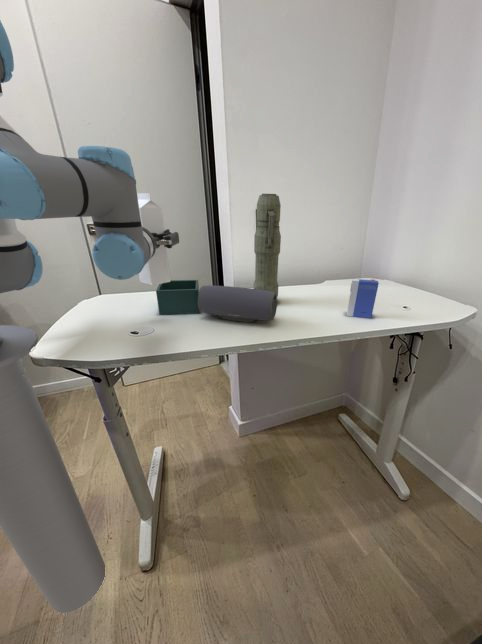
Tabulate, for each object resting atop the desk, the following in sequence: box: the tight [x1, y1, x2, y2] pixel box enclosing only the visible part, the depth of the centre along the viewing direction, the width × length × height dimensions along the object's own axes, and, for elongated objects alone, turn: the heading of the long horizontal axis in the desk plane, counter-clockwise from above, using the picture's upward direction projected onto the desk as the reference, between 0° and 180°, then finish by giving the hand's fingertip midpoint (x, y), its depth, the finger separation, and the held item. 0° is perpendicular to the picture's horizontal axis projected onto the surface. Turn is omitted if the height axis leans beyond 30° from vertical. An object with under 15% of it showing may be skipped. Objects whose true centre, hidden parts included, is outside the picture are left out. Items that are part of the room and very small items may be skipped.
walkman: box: [346, 278, 380, 319], centre depth 94 cm, size 8×3×12 cm, turn 76°
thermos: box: [253, 193, 282, 297], centre depth 99 cm, size 9×12×35 cm
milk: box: [137, 192, 171, 286], centre depth 77 cm, size 6×6×22 cm
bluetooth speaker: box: [198, 284, 278, 323], centre depth 88 cm, size 23×9×10 cm, turn 76°
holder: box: [155, 279, 201, 316], centre depth 97 cm, size 13×13×8 cm
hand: (151, 234), depth 80 cm, fingers closed on milk, 8 cm apart
